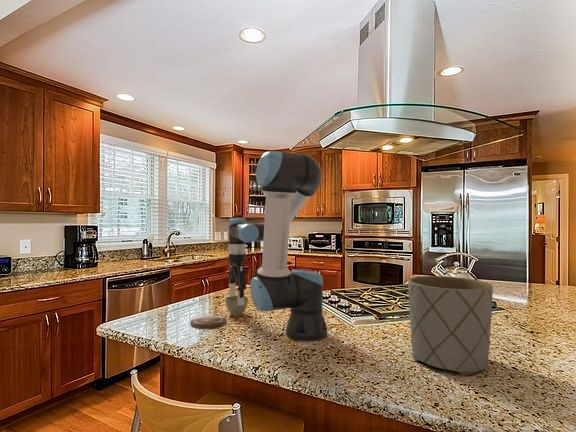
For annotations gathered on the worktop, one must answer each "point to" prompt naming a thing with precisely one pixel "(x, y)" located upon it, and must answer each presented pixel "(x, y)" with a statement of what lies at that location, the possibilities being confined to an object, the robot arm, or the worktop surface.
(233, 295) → the robot arm
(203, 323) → the disc
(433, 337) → the planter
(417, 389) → the worktop surface
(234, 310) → the flower pot
